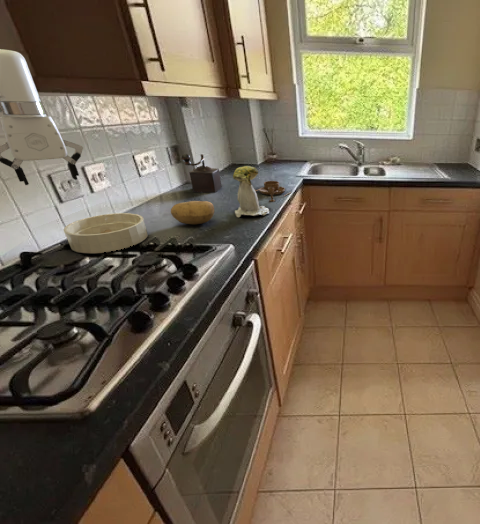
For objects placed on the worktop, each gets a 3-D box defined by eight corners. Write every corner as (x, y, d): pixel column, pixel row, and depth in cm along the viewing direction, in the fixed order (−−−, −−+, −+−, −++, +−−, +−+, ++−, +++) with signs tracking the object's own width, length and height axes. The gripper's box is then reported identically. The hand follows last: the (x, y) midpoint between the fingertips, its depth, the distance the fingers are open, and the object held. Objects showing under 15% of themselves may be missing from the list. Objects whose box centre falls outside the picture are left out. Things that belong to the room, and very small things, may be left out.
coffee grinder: (199, 187, 164) (191, 149, 156) (222, 187, 165) (216, 149, 157) (186, 195, 150) (177, 154, 142) (212, 195, 151) (204, 154, 143)
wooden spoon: (122, 245, 100) (120, 237, 98) (111, 247, 98) (108, 239, 97) (112, 232, 108) (109, 225, 107) (101, 234, 106) (98, 227, 105)
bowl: (57, 257, 92) (48, 237, 89) (88, 232, 109) (82, 214, 106) (137, 251, 97) (131, 232, 94) (155, 228, 114) (150, 211, 111)
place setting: (295, 191, 162) (294, 179, 160) (274, 202, 145) (273, 189, 142) (263, 188, 166) (261, 176, 163) (239, 198, 149) (237, 185, 146)
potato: (177, 220, 121) (172, 198, 118) (218, 218, 125) (215, 197, 121) (170, 229, 113) (164, 207, 109) (214, 227, 116) (210, 205, 113)
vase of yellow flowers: (268, 218, 127) (263, 169, 119) (233, 219, 124) (225, 169, 116) (269, 208, 137) (264, 163, 129) (236, 209, 134) (229, 163, 126)
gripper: (-31, 111, 71) (6, 189, 79) (72, 110, 83) (95, 179, 90) (-30, 109, 76) (4, 183, 84) (67, 109, 87) (89, 174, 95)
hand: (51, 181), depth 87 cm, fingers open, 9 cm apart
